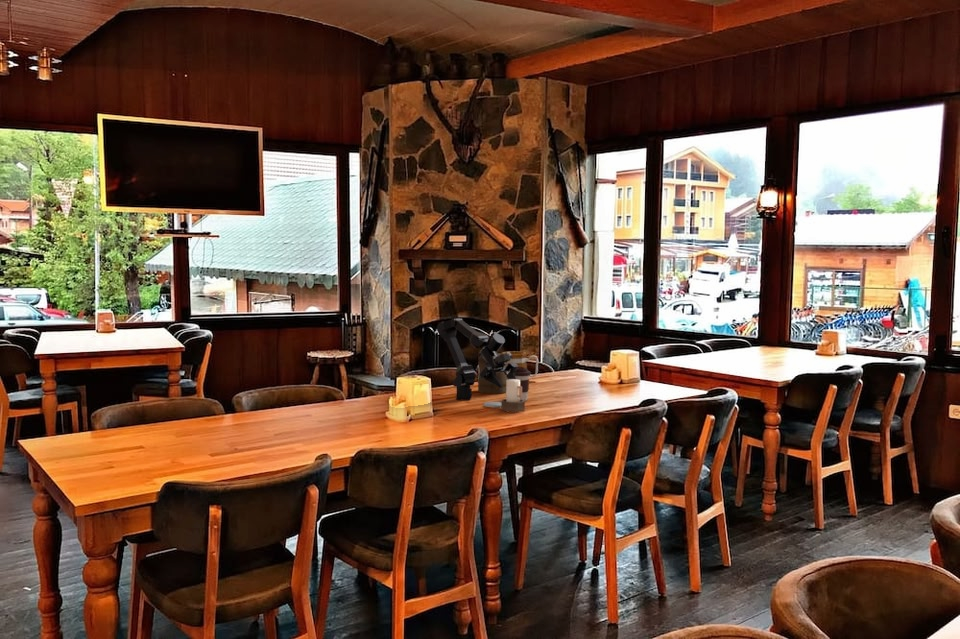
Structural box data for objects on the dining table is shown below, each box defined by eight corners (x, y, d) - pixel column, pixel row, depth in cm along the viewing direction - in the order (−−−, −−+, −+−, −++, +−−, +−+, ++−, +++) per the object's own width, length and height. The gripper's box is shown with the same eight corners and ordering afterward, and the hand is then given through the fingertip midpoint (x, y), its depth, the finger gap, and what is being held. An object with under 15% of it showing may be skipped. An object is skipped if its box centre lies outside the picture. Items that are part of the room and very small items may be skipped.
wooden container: (489, 387, 386) (489, 344, 384) (514, 390, 377) (514, 346, 375) (472, 392, 374) (472, 347, 372) (497, 395, 365) (497, 349, 363)
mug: (499, 382, 402) (499, 354, 400) (503, 378, 415) (503, 350, 414) (537, 383, 398) (537, 355, 397) (539, 379, 412) (539, 351, 410)
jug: (503, 409, 331) (503, 380, 330) (513, 407, 335) (513, 378, 334) (516, 412, 325) (516, 382, 324) (526, 410, 329) (526, 380, 328)
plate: (483, 407, 335) (483, 405, 335) (484, 403, 345) (484, 401, 345) (506, 408, 334) (506, 406, 334) (506, 403, 344) (506, 401, 344)
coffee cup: (530, 398, 357) (530, 366, 356) (529, 402, 348) (530, 369, 346) (509, 397, 358) (509, 366, 357) (508, 401, 348) (508, 369, 347)
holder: (496, 409, 331) (496, 400, 331) (513, 406, 338) (513, 397, 338) (512, 413, 324) (512, 403, 323) (529, 410, 330) (529, 400, 330)
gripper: (484, 348, 329) (502, 376, 321) (515, 344, 341) (533, 372, 334) (472, 364, 335) (489, 392, 328) (503, 360, 347) (520, 387, 340)
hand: (508, 385), depth 332 cm, fingers open, 9 cm apart
